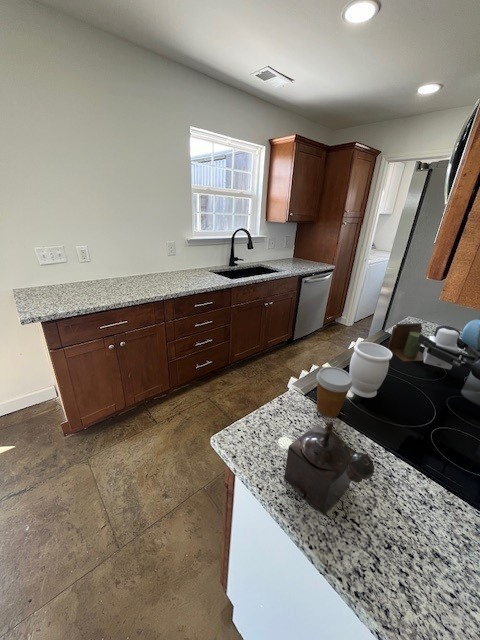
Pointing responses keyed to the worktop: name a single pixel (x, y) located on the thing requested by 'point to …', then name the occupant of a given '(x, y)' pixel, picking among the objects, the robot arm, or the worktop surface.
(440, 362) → the container
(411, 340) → the spice tin
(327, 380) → the disposable coffee cup
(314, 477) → the brown coffee grinder
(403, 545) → the worktop surface
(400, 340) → the spice rack
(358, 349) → the jar
